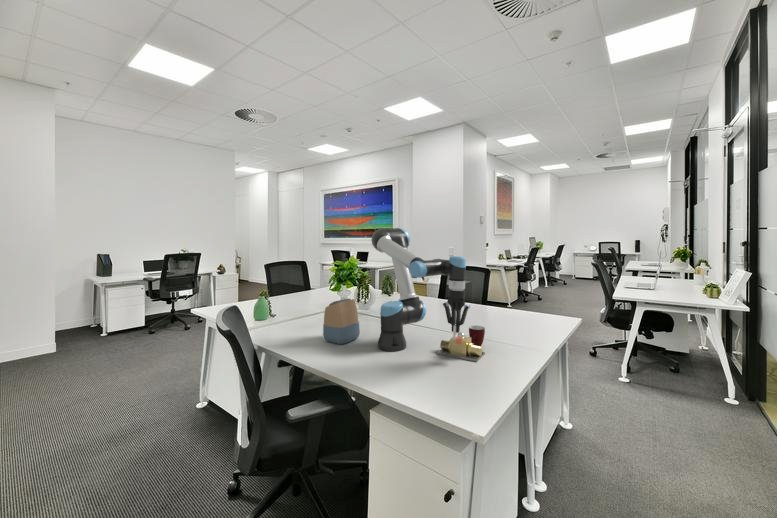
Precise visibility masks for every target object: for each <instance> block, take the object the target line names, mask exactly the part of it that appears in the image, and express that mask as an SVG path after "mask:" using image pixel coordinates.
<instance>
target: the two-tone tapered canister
mask: <svg viewBox="0 0 777 518" xmlns="http://www.w3.org/2000/svg"><path fill="white" fill-rule="evenodd" d="M322 326H323V327H322V330H323V331H322V335H323V339H324V340H325V341H327V342H329V343H332V342H333V344H336V343H337V345H345V344H347V343H350V342H352V341H355V340H357V339H358V337H360V333H361V332H360V331H361V330H360V321H359V315H358V307H357V303H356V299H355V298H352V299H351V298H343V299H340V300H336V301H332V302H330V303H329V305H327V306H326V307H325V308H324V315H323V325H322Z"/></svg>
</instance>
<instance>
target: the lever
mask: <svg viewBox="0 0 777 518" xmlns="http://www.w3.org/2000/svg"><path fill="white" fill-rule="evenodd" d="M464 336H465V332H460V331H459V332H458V336H457V338H456V344H462V339H464Z"/></svg>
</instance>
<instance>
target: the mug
mask: <svg viewBox="0 0 777 518" xmlns="http://www.w3.org/2000/svg"><path fill="white" fill-rule="evenodd" d="M468 334H469V335H468V337H471V343H473V344H474V345H475V346H481V347H482V345H483V343H484V339H485V334H486V328H485V327H484V326H482V325H470V326H468Z"/></svg>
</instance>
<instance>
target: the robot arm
mask: <svg viewBox="0 0 777 518" xmlns="http://www.w3.org/2000/svg"><path fill="white" fill-rule="evenodd" d="M370 240H371V244H372V246H373V248H374V249H375V250H376V251H378V252H380V253H382V254H383V253H384V254H385V255H387V256H388V257H390V258H391V262H392V264H393V265H392V266H393V270H394V274H395V279H396V283H397V287H398V293H399V298H398V300H393V301H386V302H384V303H382V304H381V306H380V313H379V314H380V334H379V338H378V341H377V348H378V349H379V350H381V351H385V352H399V351H403V350H405V349H407V341H406V336H405V334H404V326H405V325H410V324H416V323H418V322H421V321H423V320H424V319H425V317H426V314H427V306H426V303H425V302H424V301H423V300H421V299H420V296H419V295H418V294H416V290H415V287H414V281H413V278H425V277H433V276H448V297H447V301H445V302H442V306H443V308H444V311H445V315H446V321H447V324H450V325H451V332H452V333H453V334H452V337H453V339H454V340H456V338H457V336H458V333H459V332H460V327H461V326H463V325H464V324H465V320H466V318H467V313H468V311H469V309H470V308H471V305H468V303H466V300H465V299H466V298H465V297H466V295H465V294H466V290H465V289H466V271H467V270H466V267H467V261H466V257H465V256H462V255H461V256H460V255H459V256H458V255H456V256H455V255H451V256H450V257H449V259H443V258H433V259H430V260H425V259H423V258H421V257H419V256H418V255H416V254H414V253H413V252H411V251H409V249H408V247H409V246H410V242H411V237H410V234H409V233H408V231H407V230H405V229H404V228H401V227H400V228H399V227H395V228H391V227H389V228H382V227H381V228H379V229H376V230H375V231H374V232H373V234H372V236H371V239H370ZM462 309H463V311H462ZM461 313H462V314H461Z"/></svg>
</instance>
